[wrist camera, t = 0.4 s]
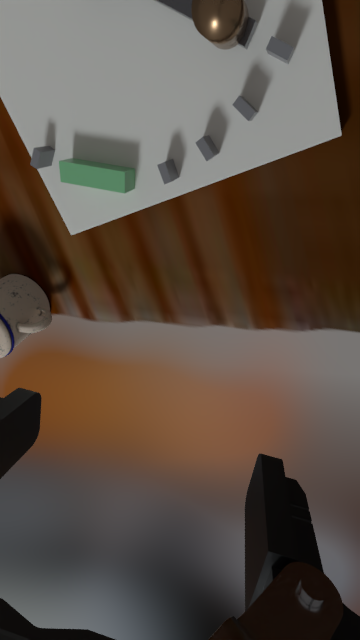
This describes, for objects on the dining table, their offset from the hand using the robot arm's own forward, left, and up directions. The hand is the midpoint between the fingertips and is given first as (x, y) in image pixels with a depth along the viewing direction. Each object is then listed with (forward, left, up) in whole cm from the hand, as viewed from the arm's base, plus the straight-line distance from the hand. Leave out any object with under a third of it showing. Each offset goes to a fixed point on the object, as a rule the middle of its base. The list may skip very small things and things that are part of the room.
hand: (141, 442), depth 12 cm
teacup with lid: (+2, -33, -29) cm, 44 cm away
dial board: (-17, -5, -29) cm, 34 cm away
